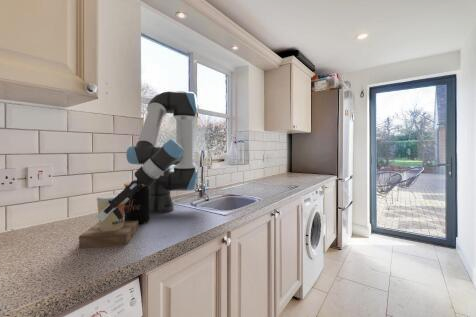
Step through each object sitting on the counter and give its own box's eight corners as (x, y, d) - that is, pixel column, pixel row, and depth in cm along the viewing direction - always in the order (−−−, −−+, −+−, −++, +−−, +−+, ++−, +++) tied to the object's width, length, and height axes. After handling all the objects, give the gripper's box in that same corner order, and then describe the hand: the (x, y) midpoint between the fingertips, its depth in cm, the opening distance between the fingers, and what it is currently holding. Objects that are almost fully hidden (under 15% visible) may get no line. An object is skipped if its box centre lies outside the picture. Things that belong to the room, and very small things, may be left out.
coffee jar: (119, 223, 103) (118, 183, 102) (138, 217, 112) (138, 180, 112) (135, 227, 98) (135, 185, 97) (154, 220, 108) (154, 182, 107)
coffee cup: (113, 233, 80) (113, 199, 80) (90, 230, 82) (90, 197, 82) (131, 224, 89) (130, 194, 89) (110, 222, 91) (110, 193, 91)
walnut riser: (99, 231, 92) (99, 222, 92) (138, 230, 94) (138, 220, 94) (79, 247, 77) (78, 236, 77) (126, 245, 80) (126, 234, 79)
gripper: (148, 184, 75) (100, 231, 73) (162, 175, 100) (126, 211, 98) (131, 168, 74) (81, 216, 72) (149, 163, 99) (113, 199, 97)
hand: (107, 213), depth 85 cm, fingers open, 13 cm apart
